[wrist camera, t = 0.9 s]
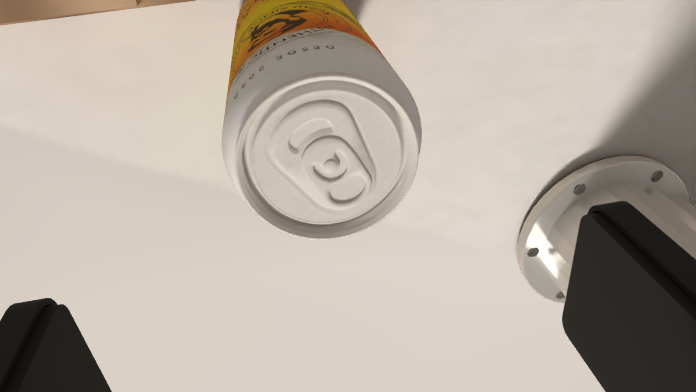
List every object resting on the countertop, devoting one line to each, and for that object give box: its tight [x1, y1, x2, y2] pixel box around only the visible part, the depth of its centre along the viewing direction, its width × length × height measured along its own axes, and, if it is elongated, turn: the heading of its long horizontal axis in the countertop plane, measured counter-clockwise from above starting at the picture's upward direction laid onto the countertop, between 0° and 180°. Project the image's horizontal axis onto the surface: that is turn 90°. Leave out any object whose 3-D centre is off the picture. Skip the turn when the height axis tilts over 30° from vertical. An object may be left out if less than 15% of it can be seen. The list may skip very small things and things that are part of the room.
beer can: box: [222, 0, 422, 240], centre depth 21 cm, size 6×6×15 cm
